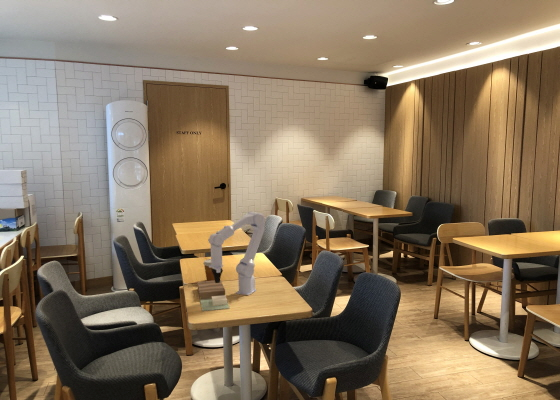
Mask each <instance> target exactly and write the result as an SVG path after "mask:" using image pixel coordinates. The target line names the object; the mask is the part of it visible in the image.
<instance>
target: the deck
mask: <svg viewBox="0 0 560 400" xmlns="http://www.w3.org/2000/svg"><path fill="white" fill-rule="evenodd" d="M197 292H198V297H199V300H200V299H210V298H212V296H223V295H225V296H226V289H225V287H224V285H223V282H222V280H221V279H220V283H215V281H207V280H206V281H205V280H204V281H197Z"/></svg>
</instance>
